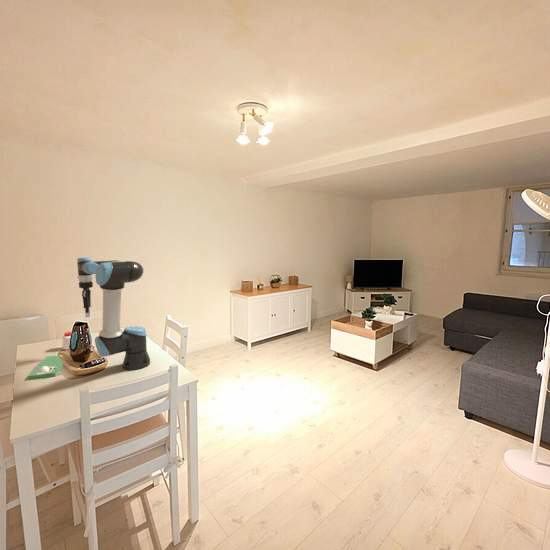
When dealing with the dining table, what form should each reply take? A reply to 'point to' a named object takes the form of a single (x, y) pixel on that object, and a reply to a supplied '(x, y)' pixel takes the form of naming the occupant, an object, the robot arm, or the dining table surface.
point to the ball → (44, 369)
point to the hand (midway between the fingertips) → (88, 317)
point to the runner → (51, 362)
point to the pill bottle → (66, 340)
